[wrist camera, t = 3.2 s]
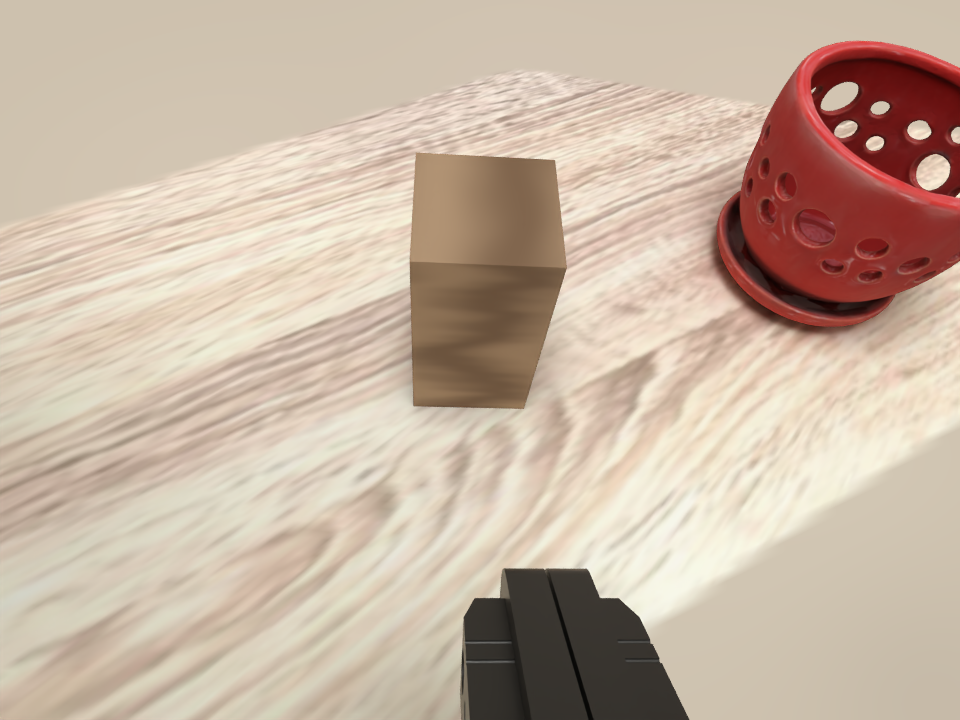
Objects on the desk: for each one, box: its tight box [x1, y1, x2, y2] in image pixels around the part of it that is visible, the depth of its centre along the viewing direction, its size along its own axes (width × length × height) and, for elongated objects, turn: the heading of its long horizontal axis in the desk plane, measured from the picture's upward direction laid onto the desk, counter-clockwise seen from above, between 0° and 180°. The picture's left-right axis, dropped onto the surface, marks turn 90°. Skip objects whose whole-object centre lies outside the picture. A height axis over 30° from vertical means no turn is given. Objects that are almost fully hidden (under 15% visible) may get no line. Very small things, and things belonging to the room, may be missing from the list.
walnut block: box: [410, 153, 567, 409], centre depth 30 cm, size 6×6×12 cm
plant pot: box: [717, 41, 960, 327], centre depth 36 cm, size 13×13×12 cm
